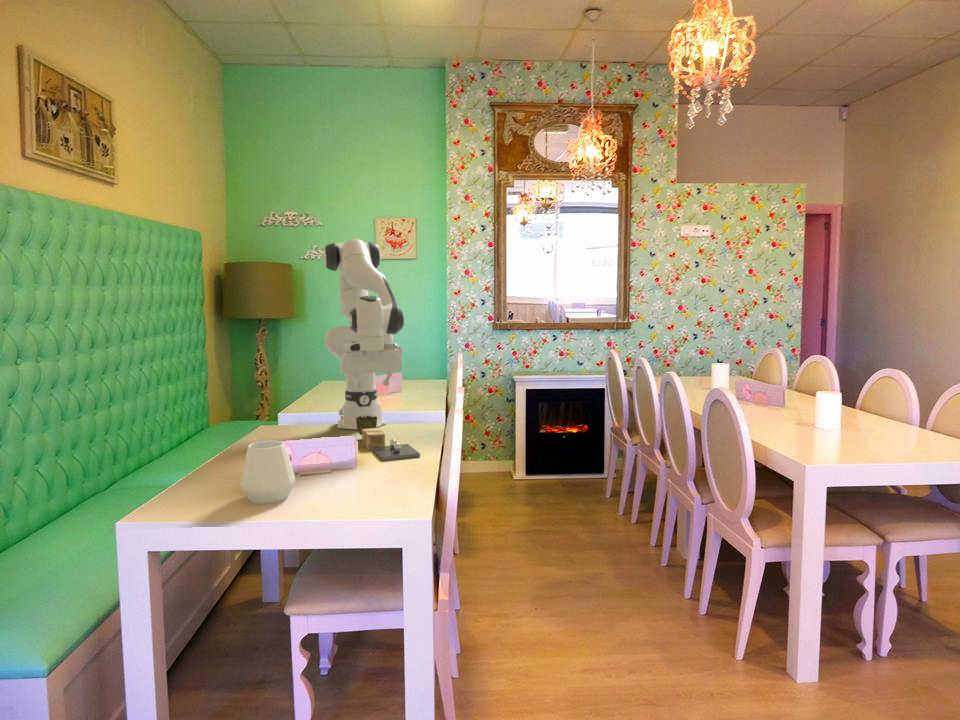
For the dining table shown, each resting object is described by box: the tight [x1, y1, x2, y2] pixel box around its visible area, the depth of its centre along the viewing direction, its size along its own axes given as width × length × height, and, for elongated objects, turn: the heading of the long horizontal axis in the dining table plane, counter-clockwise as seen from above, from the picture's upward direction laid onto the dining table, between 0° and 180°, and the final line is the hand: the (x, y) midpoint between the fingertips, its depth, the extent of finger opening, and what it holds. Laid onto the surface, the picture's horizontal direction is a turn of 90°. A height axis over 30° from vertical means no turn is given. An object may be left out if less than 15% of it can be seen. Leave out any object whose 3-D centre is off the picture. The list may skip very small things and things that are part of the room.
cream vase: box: [239, 439, 296, 505], centre depth 165 cm, size 13×13×14 cm
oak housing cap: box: [361, 427, 386, 451], centre depth 220 cm, size 10×6×5 cm, turn 22°
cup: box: [356, 415, 377, 436], centre depth 229 cm, size 8×7×8 cm
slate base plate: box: [371, 439, 421, 462], centre depth 208 cm, size 14×12×4 cm
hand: (372, 386), depth 218 cm, fingers open, 8 cm apart
